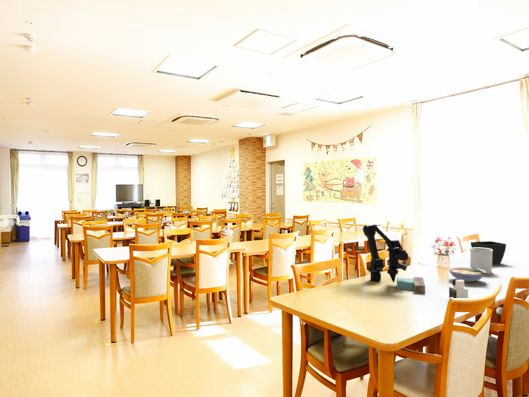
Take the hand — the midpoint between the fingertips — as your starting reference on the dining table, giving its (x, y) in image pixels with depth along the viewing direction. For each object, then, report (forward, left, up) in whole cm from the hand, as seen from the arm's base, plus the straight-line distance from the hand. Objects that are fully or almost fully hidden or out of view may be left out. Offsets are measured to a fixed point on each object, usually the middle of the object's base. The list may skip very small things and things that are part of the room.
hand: (393, 281), depth 241 cm
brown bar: (+15, 0, -3) cm, 16 cm away
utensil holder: (+57, +64, -3) cm, 86 cm away
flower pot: (+66, +103, -3) cm, 122 cm away
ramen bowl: (+45, +31, -3) cm, 55 cm away
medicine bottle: (+37, -18, -3) cm, 41 cm away
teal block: (+7, 0, -3) cm, 8 cm away
